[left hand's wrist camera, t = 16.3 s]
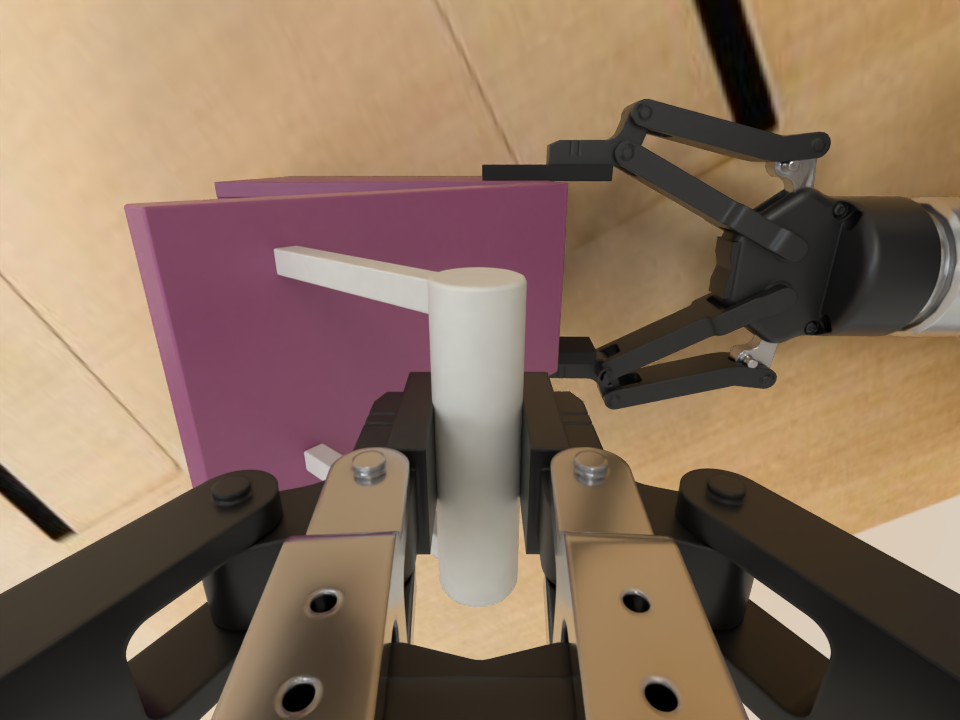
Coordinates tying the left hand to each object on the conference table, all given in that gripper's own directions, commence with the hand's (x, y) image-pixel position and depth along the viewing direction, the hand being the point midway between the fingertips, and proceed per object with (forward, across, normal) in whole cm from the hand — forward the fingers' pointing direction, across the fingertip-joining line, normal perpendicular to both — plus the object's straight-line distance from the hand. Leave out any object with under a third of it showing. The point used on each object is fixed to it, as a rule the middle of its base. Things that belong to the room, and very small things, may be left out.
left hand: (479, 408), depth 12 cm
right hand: (+18, 0, 0) cm, 18 cm away
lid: (+8, -3, 0) cm, 8 cm away
